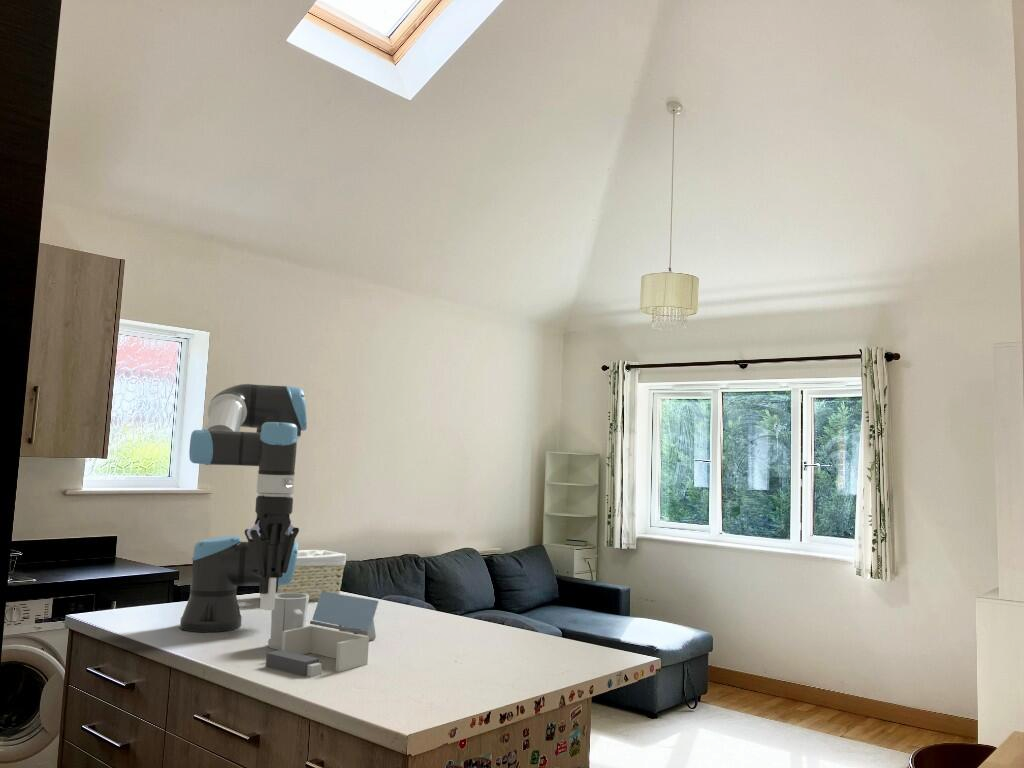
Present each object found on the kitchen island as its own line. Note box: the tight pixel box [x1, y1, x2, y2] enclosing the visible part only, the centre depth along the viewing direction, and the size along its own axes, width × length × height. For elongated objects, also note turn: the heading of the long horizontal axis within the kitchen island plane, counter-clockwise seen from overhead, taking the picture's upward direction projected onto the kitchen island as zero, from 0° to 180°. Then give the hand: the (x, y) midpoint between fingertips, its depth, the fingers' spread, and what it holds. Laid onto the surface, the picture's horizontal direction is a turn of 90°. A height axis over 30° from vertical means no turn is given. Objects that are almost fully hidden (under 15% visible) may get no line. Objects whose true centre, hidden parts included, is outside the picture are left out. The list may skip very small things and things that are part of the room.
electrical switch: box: [338, 618, 377, 642], centre depth 202 cm, size 9×5×9 cm, turn 141°
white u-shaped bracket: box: [281, 624, 370, 673], centre depth 180 cm, size 18×9×6 cm, turn 58°
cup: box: [267, 593, 309, 651], centre depth 193 cm, size 10×9×12 cm
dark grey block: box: [265, 650, 323, 678], centre depth 172 cm, size 13×4×3 cm, turn 58°
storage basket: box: [259, 549, 347, 602], centre depth 259 cm, size 24×16×15 cm
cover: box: [309, 592, 379, 635], centre depth 186 cm, size 18×8×2 cm
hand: (267, 609), depth 167 cm, fingers closed
